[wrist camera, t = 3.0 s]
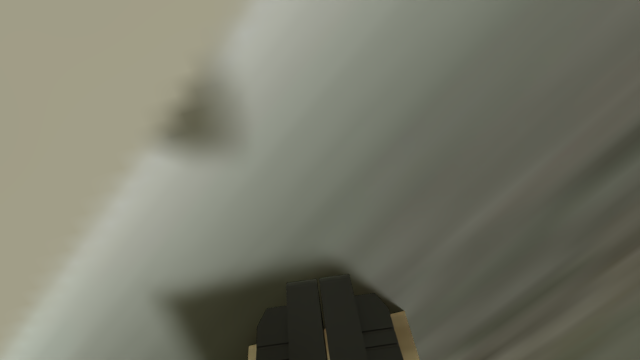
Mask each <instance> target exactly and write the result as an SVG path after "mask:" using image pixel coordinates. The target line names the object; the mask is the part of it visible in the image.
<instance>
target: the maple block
mask: <svg viewBox="0 0 640 360" xmlns="http://www.w3.org/2000/svg"><path fill="white" fill-rule="evenodd" d="M390 316H391V319H392V322H393V326H394V331H395V332H396V336H397V339H398V342H399V347H400V349H401V353H402V356H403V359H404V360H419V356H418V353H417V350H416V347H415V344H414V340H413V337H412V334H411V331H410V327H409V324H408V321H407V318H406V315H405V311H402V312H398V313H393V314H390ZM324 335H325V343H326V350H327V358H328V360H330V357H329V349H328V342H327V334H326V329H324ZM256 351H257V348H256V344H255V345H251V346H249V351H248V360H256Z"/></svg>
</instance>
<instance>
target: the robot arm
mask: <svg viewBox="0 0 640 360" xmlns="http://www.w3.org/2000/svg"><path fill="white" fill-rule="evenodd" d="M319 280H320V288H321V296H322V303H323V311H324V319H325V326H326V334H327V342H328V349H329V357H330V360H404V359H403V356H402V353H401V349H400V347H399V342H398V339H397V336H396V332H395V331H394V326H393V322H392V319H391V316H390V312H389V309H388V307H387V306H386V305H385V304H384V303H383V302H382V301H381V300H380V298H379V297H378V296H377V295H376V294H375V293H372V294H365V295H358V296H354V293H353V289H352V284H351V280H350V275H349V274H345V275H338V276H331V277H324V278H319ZM286 290H287V306H281V307H274V308H267V309H266V311H265V313H264V315H263V317H262V318H261V320H260V322H259V324H258V326H257V343H256V348H257V351H256V360H328V358H327V350H326V343H325V335H324V328H323V320H322V313H321V306H320V299H319V292H318V285H317V279H311V280H304V281H297V282H290V283H287V284H286Z"/></svg>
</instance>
